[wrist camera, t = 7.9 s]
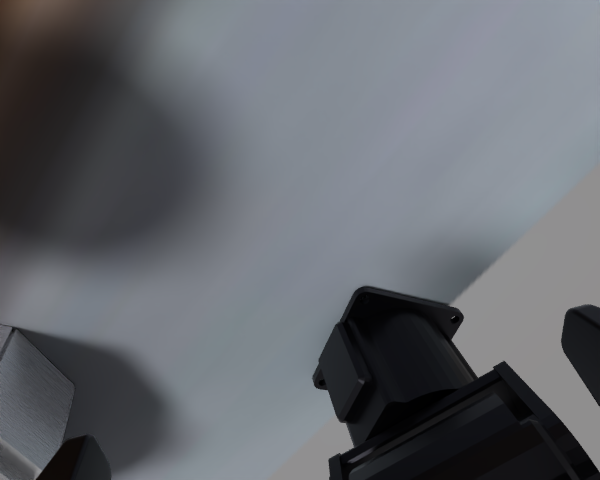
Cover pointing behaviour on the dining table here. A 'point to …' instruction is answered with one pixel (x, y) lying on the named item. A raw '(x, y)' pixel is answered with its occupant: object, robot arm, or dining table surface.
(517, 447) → the robot arm
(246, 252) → the dining table surface
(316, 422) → the dining table surface
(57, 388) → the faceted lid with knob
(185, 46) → the dining table surface
